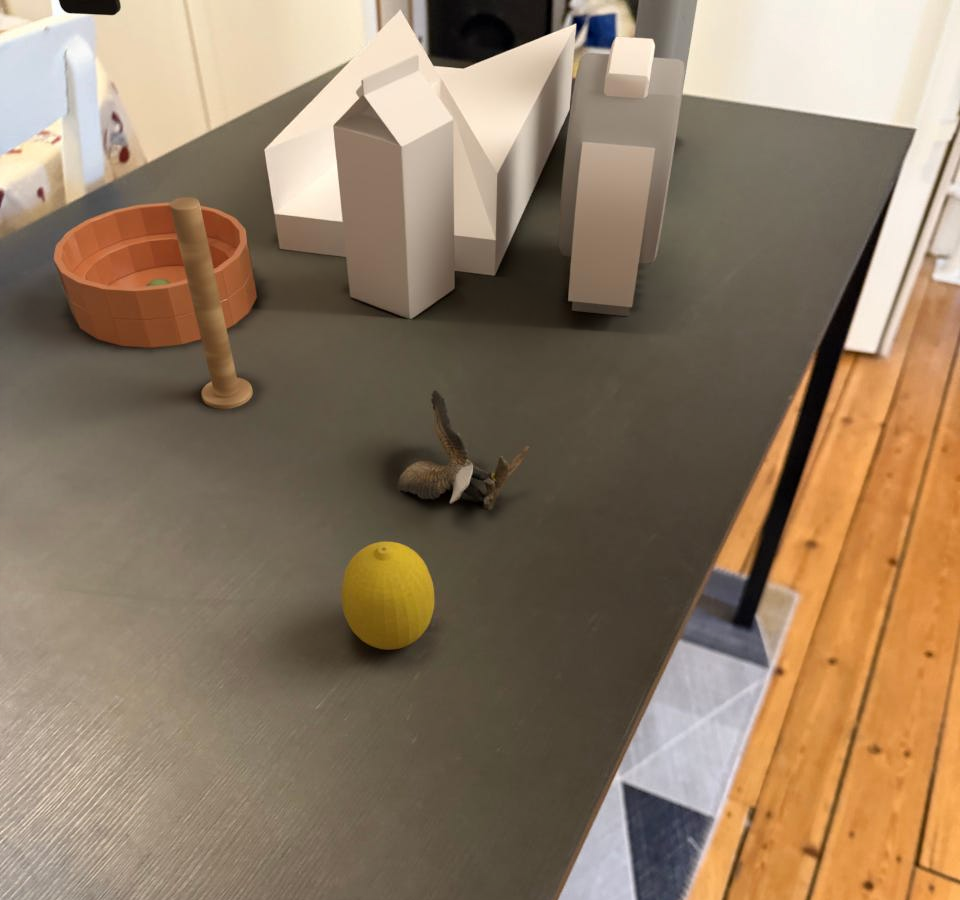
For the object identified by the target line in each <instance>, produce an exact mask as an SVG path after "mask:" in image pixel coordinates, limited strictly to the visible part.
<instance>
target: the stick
mask: <svg viewBox="0 0 960 900" xmlns="http://www.w3.org/2000/svg"><path fill="white" fill-rule="evenodd" d="M169 203H170V210H171V214H172V218H173V222H174V227H175V231H176V235H177V239H178V243H179V248H180V252H181V256H182V260H183V264H184V269H185V273H186V277H187V281H188V285H189V289H190V294H191V298H192V302H193V306H194V310H195V315H196V319H197V323H198V327H199V331H200V336H201V339H200V340H201V344H202V347H203V352H204V356H205V361H206V365H207V368H208V373H209V377H210V381H209V382H208V383H206V384H205V385H204V386H203V388H202V390H201V399H202V401H203V402H204V404H205V405H207V406H209V407H211V408H214V409H220V410H228V409H233V408H237V407H240V406H242V405H244V404H246V403H247V402H249V401H250V399H251V398H252V396H253V393H254V390H253V387H252V384H251V383H250V381H248V380H246V379H244V378H242V377H238V376H237V371H236V367H235V362H234V357H233V352H232V349H231V343H230V339H229V334H228V328H227V329H226V324H225V320H224V315H223V310H222V306H221V301H220V296H219V292H218V287H217V282H216V277H215V273H214V268H213V263H212V259H211V254H210V249H209V245H208V240H207V235H206V231H205V226H204V221H203V217H202V212H201V207H200V206H201V204H200V201H199V200H198V199H197V198H195V197H190V196H184V197H178V198H175V199H173V200H171V201H170V202H169Z"/></svg>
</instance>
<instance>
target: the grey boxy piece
mask: <svg viewBox="0 0 960 900" xmlns="http://www.w3.org/2000/svg"><path fill="white" fill-rule="evenodd" d="M654 50H655V44H654V41H653V39H647V38H634V37H631V36H630V37H629V36H615V38H614V39H613V41H612V44H611V47H610V50H609V53H597V52H596V53H595V52H585V53H584V54H583V55H582V56H581V57H580V58H579V61H578V65H577V70H576V74H575V80H574V85H573V92H572V96H571V102H570V110H569V119H568V126H567V134H566V143H565V152H564V161H563V170H562V171H563V172H562V181H561V193H560V209H559V227H558V228H559V232H558V233H559V234H558V238H559V240H558V243H559V247H558V248H559V252H560V254H561V255H562V256H564V257H570V269H569V282H568V283H569V284H568V295H567V296H568V297H567V301H568V302H572V304H571V311H573V312H581V313H591V314H602V315H610V316H611V315H612V316H622V317H629V314H630V308H633V304H634V298H635V290H636V283H637V276H638V269H639V264H642V265H651V264H652V263H654V262H655V260H656V259H657V255H658V250H659V246H660V240H661V235H662V234H661V233H662V229H663V228H662V227H663V223H664V217H665V211H666V203H667V197H668V190H669V185H670V179H671V171H672V166H673V159H674V152H675V147H676V138H677V132H678V125H679V119H680V111H681V106H680V105H682V100H681V97H682V98H683V94H682V90H683V91H684V87H683V82H684V83H685V81H684V73H685V68H684V62H682V61H681V60H679V59H668V58H654Z"/></svg>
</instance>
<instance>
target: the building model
mask: <svg viewBox="0 0 960 900" xmlns="http://www.w3.org/2000/svg"><path fill="white" fill-rule="evenodd" d="M576 34H577V23H574V24H571V25H569V26H566V27H564V28H561V29H559V30H556V31H554V32H551V33H549V34H547V35H544V36H541V37H539V38H537V39H534V40H532V41H529V42H526V43H524V44H521V45H519V46H516V47H514V48H511V49H509V50H506V51H504V52H501V53H499V54H496V55H494V56H492V57H489V58H487V59H486V58H485V59H484V60H481V61H479V62H476V63H474V64H471V65H469V66H467V67H464V68H460V67H459V68H458V67H448V66H440V65H439V66H438V65H434V64H433V63H432V61H431V59H430V57H429V56H428V55H427V52H426V51H425V49H424V47H423V46H422V44H421V42H420V41H419V39H418V37H417V35H416V33H415V32H414V30H413V28H412V27H411V25H410V24H409V22H408V20H407V18H406V17H405V15H404V13H403V12H402V9H399V10H398V11H397V12H396V13H395V14H394V15H393V17H391V19H389V20H388V22H387V23H385V25H383V27H381V29H380V30H379V31H378V32H377V33H376V34H375V35H374V36H372V38H371V39H370V40H369V41H368V42H367V43H366V44H365V45H364V47H362V48H361V49H360V50H359V52H358V53H357V54H356V55H355V56H354V57H353V58H351V60H349V62H348V63H347V64H346V65H344V67H343V68H342V69H341V70H340V71H339V72H338V73H337V74H336V75H335V76H334V77H333V78H332V79H331V80H330V81H329V82H328V84H327V85H326V86H324V87H323V88H322V90H321V91H320V92H319V93H317V95H315V97H314V98H313V99H312V100H310V102H309V103H308V104H307V105H306V106H305V107H304V108H303V109H302V110H301V111H300V112H299V113H298V114H297V115H296V116H295V117H294V118H293V119H292V121H290V123H289V124H288V125H286V127H285V128H283V130H282V131H281V132H280V133H279V134H278V135H277V136H276V137H275V138H274V139H273V140H272V141H271V142H270V143H269V144H268V145H267V146H266V147H265V148H264V149H263V150H264V156H265V163H266V169H267V176H268V181H269V188H270V189H269V190H270V196H271V201H272V207H273V215H274V221H275V229H276V234H277V241H278V247H279V249H280V250H286V251H292V252H293V251H294V252H301V253H310V254H318V255H326V256H332V257H333V256H334V257H341V258H346V250H345V240H344V230H343V220H342V210H341V200H340V190H339V181H338V171H337V161H336V151H335V141H334V130H333V125H334V124H335V123H336V122H337V121H338V120H339V119H340V118H341V117H342V116H343V115H344V114H345V112H346V111H347V110H348V109H349V108H350V107H351V106H352V105H353V104H354V103H355V102H356V101H357V100H358V99H359V97H358V96H357V94H356V91H357V89H358V88H359V87H360V86H361V85H362V83H361V80H362V79H363V78H365V77H367V76H370V75H372V74H374V73H376V72H379V71H381V70H383V69H385V68H388V67H390V66H392V65H394V64H397V63H399V62H401V61H403V60H406V59H408V58H410V57H412V56H415V55H418V57H419V71H420V72H421V74H422V75H423V76H424V78H425V79H426V81H427V82H428V83H429V85H430V86H431V88H432V89H433V91H434V92H435V93H436V95H437V96H438V98H439V99H440V100H441V102H442V103H443V105H444V106H445V107H446V109H447V110H448V112H449V113H450V114H451V116H452V117H453V163H454V263H455V272H460V273H461V272H462V273H470V274H478V275H486V276H493V277H495V276H496V274H497V271H498V269H499V268H500V264H501V262H502V260H503V258H504V256H505V254H506V252H507V250H508V247H509V245H510V242H511V241H512V238H513V236H514V234H515V231H516V230H517V228H518V225H519V223H520V220H521V218H522V216H523V214H524V212H525V210H526V207H527V206H528V203H529V201H530V198H531V197H532V193H533V191H534V190H535V187H536V186H537V183H538V181H539V178H540V176H541V174H542V172H543V169H544V168H545V165H546V163H547V161H548V158H549V156H550V154H551V152H552V150H553V147H554V145H555V143H556V140H557V138H558V136H559V134H560V131H561V129H562V127H563V125H564V124H565V120H566V118H567V117H568V114H569V113H570V110H571V99H572V83H573V71H574V58H575V46H576Z"/></svg>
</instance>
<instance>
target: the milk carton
mask: <svg viewBox="0 0 960 900" xmlns="http://www.w3.org/2000/svg"><path fill="white" fill-rule="evenodd" d="M361 83H362V85H361V86H360V87H359V88H358V89H357V91H356V94H357V96H358V97H359V99H358V100H357V101H356V102H355V103H354V104H353V105H352V106H351V107H350V108H349V109H348V110H347V111H346V112H345V114H344V115H343V116H342V117H341V118H340V119H339V120H338V121H337V122H336V123H335V124H334V125H333V130H334V141H335V151H336V161H337V171H338V181H339V190H340V200H341V210H342V220H343V230H344V240H345V250H346V257H345V259H346V268H347V278H348V279H347V280H348V289H349V296H350V298H351V299H352V298H353V299H355V300H357V301H360V302H363V303H366V304H368V305H370V306H373V307H375V308H377V309H381V310H384V311H386V312H388V313H392V314H394V315H397V316H399V317H402V318H404V319H407V320H412V319H414V318H415V317H416V316H418V315H419V314H421V313H423V312H424V311H425V310H427V309H428V308H430V307H431V306H432V305H434V304H435V303H437V302H438V301H439V300H441V299H443V298H444V297H445V296H447V295H448V294H449V293H451V292H452V291H453V290H455V288H456V284H455V283H456V281H455V276H456V275H455V274H456V273H455V272H456V271H455V263H454V163H453V117H452V116H451V114H450V113H449V112H448V110H447V109H446V107H445V106H444V105H443V103H442V102H441V100H440V99H439V98H438V96H437V95H436V93H435V92H434V91H433V89H432V88H431V86H430V85H429V83H428V82H427V81H426V79H425V78H424V76H423V75H422V74H421V72H420V71H419V57H418V55H415V56H412V57H410V58H408V59H406V60H403V61H401V62H399V63H397V64H394V65H392V66H390V67H388V68H385V69H383V70H381V71H379V72H376V73H374V74H372V75H370V76H367V77H365V78H363V79H362V80H361Z"/></svg>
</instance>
